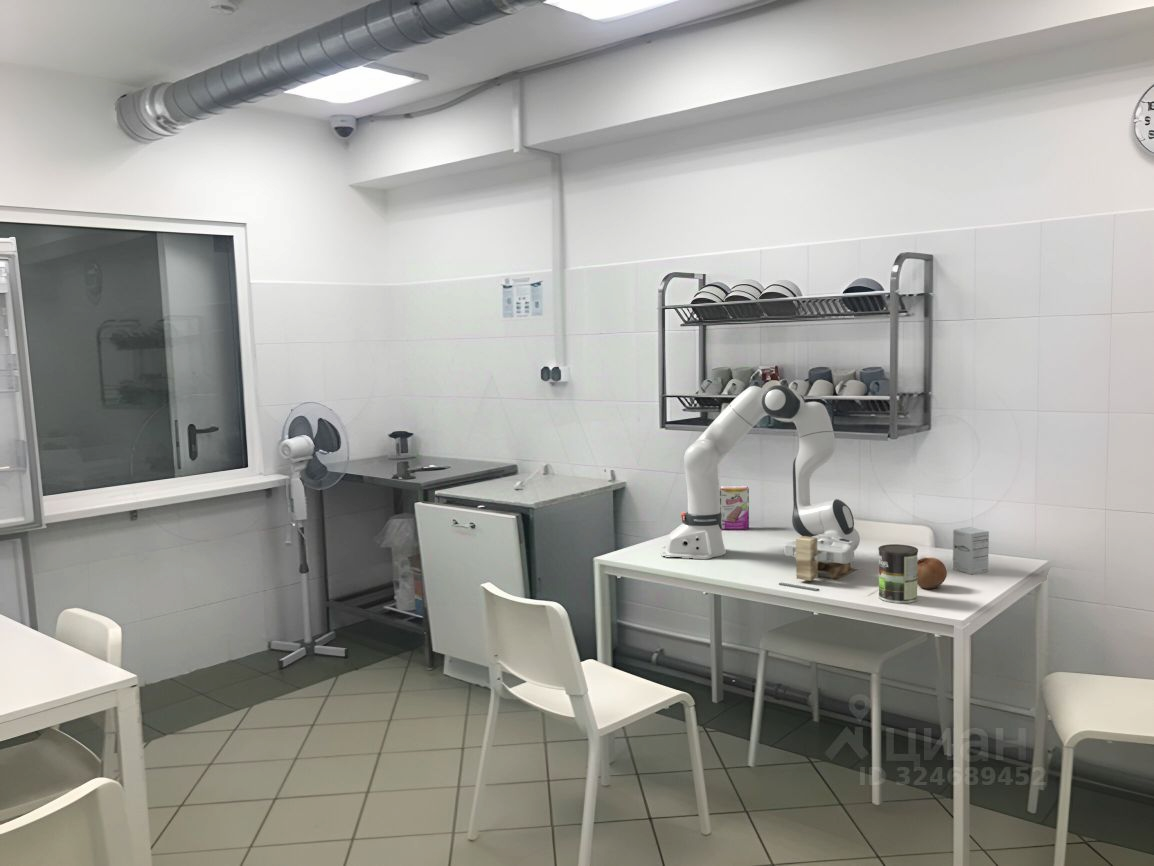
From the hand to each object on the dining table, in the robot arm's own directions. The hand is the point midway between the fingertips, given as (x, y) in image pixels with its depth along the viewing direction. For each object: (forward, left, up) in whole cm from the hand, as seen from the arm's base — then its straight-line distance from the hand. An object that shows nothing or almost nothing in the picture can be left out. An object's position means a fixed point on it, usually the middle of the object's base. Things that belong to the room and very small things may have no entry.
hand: (805, 557), depth 266 cm
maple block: (+1, +1, -6) cm, 7 cm away
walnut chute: (+9, +13, -8) cm, 18 cm away
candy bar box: (-17, +80, -8) cm, 82 cm away
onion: (+34, -4, -8) cm, 35 cm away
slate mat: (+1, +1, -8) cm, 8 cm away
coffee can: (+23, -15, -8) cm, 29 cm away
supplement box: (+51, +15, -8) cm, 54 cm away
